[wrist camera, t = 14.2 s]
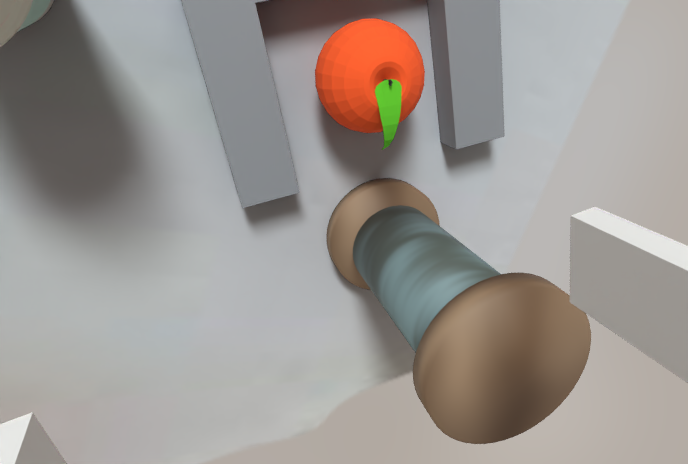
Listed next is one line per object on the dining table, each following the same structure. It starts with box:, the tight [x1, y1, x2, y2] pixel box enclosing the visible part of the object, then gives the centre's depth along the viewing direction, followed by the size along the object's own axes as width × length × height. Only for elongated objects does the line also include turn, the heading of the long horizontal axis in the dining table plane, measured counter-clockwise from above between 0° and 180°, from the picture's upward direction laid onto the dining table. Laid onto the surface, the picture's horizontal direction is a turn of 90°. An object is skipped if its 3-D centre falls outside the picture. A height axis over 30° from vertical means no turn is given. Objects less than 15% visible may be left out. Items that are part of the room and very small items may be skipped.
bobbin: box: [327, 178, 591, 444], centre depth 31 cm, size 9×9×18 cm
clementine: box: [315, 19, 425, 150], centre depth 31 cm, size 8×7×7 cm
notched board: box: [181, 0, 504, 208], centre depth 32 cm, size 20×16×2 cm
